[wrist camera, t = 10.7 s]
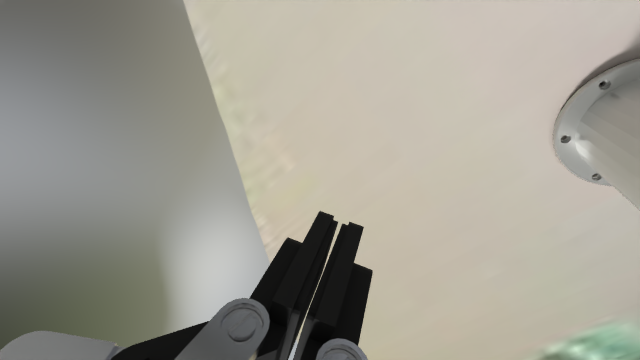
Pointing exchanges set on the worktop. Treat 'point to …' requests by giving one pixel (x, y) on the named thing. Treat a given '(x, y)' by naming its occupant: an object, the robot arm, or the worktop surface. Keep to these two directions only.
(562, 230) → the worktop surface
